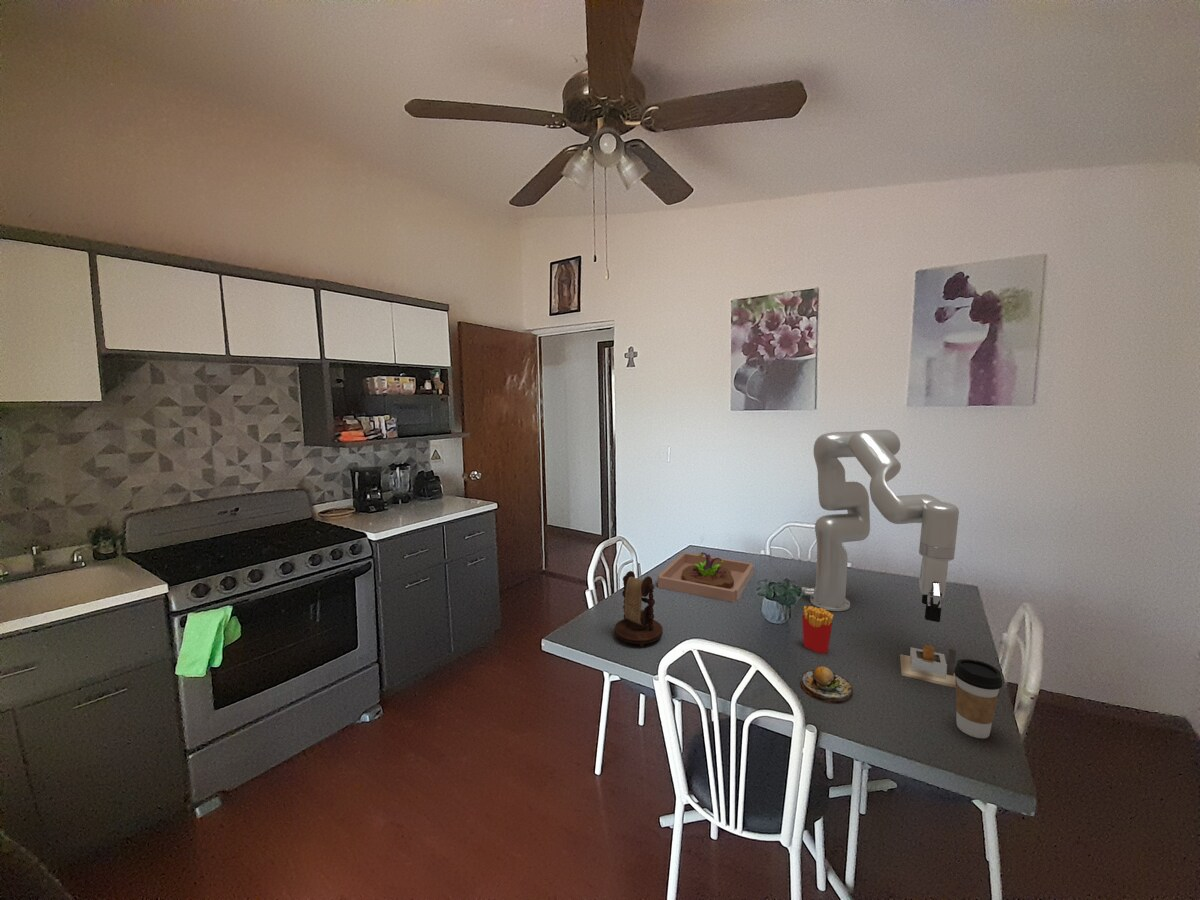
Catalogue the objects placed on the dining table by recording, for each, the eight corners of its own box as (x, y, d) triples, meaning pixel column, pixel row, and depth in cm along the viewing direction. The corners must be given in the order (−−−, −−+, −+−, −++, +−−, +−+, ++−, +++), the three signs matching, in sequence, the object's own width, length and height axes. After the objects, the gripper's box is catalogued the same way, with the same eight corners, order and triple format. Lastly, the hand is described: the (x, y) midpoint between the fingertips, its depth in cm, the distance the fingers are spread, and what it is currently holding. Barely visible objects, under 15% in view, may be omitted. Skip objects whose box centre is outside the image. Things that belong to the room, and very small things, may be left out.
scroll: (604, 637, 152) (603, 575, 149) (633, 619, 163) (633, 561, 160) (643, 654, 142) (643, 588, 140) (671, 634, 153) (672, 572, 151)
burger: (863, 700, 121) (864, 672, 120) (820, 708, 118) (821, 679, 117) (830, 672, 133) (831, 646, 131) (791, 678, 130) (792, 652, 129)
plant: (680, 569, 205) (681, 543, 203) (729, 570, 202) (729, 544, 201) (682, 589, 185) (682, 560, 184) (735, 591, 183) (736, 562, 181)
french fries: (799, 645, 146) (800, 606, 144) (805, 640, 148) (807, 602, 147) (828, 656, 139) (830, 616, 138) (834, 651, 142) (836, 612, 140)
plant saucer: (656, 588, 188) (656, 576, 188) (683, 562, 214) (683, 552, 214) (735, 604, 174) (736, 592, 173) (754, 574, 200) (754, 563, 199)
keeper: (901, 675, 130) (903, 647, 129) (900, 656, 139) (901, 629, 138) (957, 688, 124) (959, 658, 123) (952, 667, 133) (954, 640, 132)
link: (911, 671, 131) (912, 658, 130) (909, 659, 136) (910, 647, 136) (945, 679, 127) (947, 666, 126) (943, 666, 133) (944, 654, 132)
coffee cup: (940, 717, 114) (945, 657, 112) (974, 715, 115) (980, 654, 112) (970, 744, 106) (976, 679, 103) (1007, 741, 106) (1014, 676, 104)
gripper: (917, 537, 136) (911, 595, 139) (921, 559, 121) (915, 623, 124) (950, 541, 133) (943, 601, 135) (959, 564, 118) (952, 631, 120)
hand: (930, 612), depth 130 cm, fingers open, 9 cm apart
